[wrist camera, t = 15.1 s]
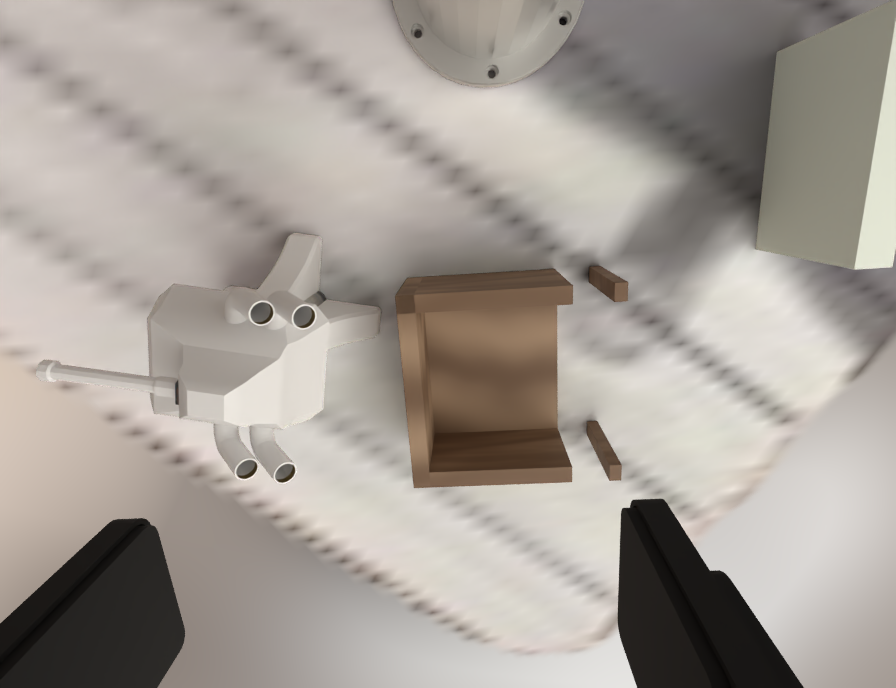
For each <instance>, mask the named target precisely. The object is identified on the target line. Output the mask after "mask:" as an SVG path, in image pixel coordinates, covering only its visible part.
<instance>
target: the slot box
mask: <svg viewBox="0 0 896 688" xmlns="http://www.w3.org/2000/svg"><path fill="white" fill-rule="evenodd" d="M589 283H590V284H592V285H593V286H594V287H596V288H597V289H598V290H600V291H601V292H602V293H604V294H605V295H606V296H607V297H609V298H610V299H611V300H613V301H614V302H622V301H628V282H627V281H625V280H623V279H622V278H620V277H618V276H617V275H615V274H613V273H611V272H610V271H608V270H606V269H604V268H603V267H601V266H592V267H589ZM395 301H396V311H397V321H398V331H399V341H400V351H401V361H402V372H403V382H404V392H405V402H406V412H407V422H408V432H409V443H410V453H411V463H412V473H413V483H414V488H427V487H453V486H480V485H507V484H533V483H560V482H572V465H571V463H570V460H569V458H568V455H567V452H566V450H565V447H564V444H563V442H562V439H561V436H560V434H559V431H558V426H557V305H569V304H573V285H572V284H571V283H570V282H568V281H567V280H566V279H565V278H564V277H563V276H562V275H561V274H560V273H559V272H557V271H556V270H555V269H543V270H526V271H510V272H493V273H477V274H460V275H444V276H427V277H411V278H407V279H406V281H405V282H404V284H403V285H402V287H401V288H400V289H399V291H398V292H397V294H396V295H395ZM587 436H588V438H589V440H590V442H591V444H592V446H593V448H594V450H595V452H596V454H597V456H598V458H599V460H600V462H601V464H602V466H603V468H604V470H605V473H606V475H607V477H608V479H609V481H613V480H621V468H622V465H621V463H620V461H619V459H618V458H617V456H616V454H615V452H614V451H613V449H612V447H611V445H610V443H609V442H608V440H607V438H606V436H605V434H604V433H603V431H602V429H601V427H600V425H599V424H598V422H597V421H587Z"/></svg>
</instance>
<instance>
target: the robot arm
mask: <svg viewBox="0 0 896 688" xmlns="http://www.w3.org/2000/svg"><path fill="white" fill-rule="evenodd" d="M392 1H393V6H394V9H395V12H396V15H397V18H398V21H399V24H400V26H401V28H402V31H403V33H404V35H405V37H406V39H407V40H408V42H409V43H410V45H411V46H412V48H413V49H414V51H415V52H416V54H417V55H418V56H419V57H420V58H421V59H422V60H423V61H424V62H425V63H426V64H427V65H428V66H429V67H430V68H431V69H433V70H434V71H436V72H437V73H439V74H440V75H442V76H443V77H445V78H447V79H449V80H452V81H454V82H457V83H459V84H461V85H467V86H472V87H478V88H487V87H500V86H504V85H508V84H512V83H515V82H517V81H519V80H521V79H524V78H526V77H528V76H530V75H532V74H533V73H534V72H536V71H537V70H538V69H540V68H541V67H543V66H544V65H545V64H546V63H547V62H548V61H549V60H550V59H551V58H552V57H553V56H554V55H555V54H556V53H557V52H558V51H559V50H560V48H561V47H562V45H563V44H564V42H565V41H566V40H567V38H568V37H569V35H570V33H571V31H572V30H573V28H574V26H575V24H576V22H577V20H578V18H579V15H580V12H581V9H582V6H583V3H584V0H392ZM561 18H564V19H565V20H566V25H561V24H560V23H559V20H560V19H561ZM416 31H421V32H422V36H421V37H420V38H416V37H415V33H416ZM489 71H494V72H495V74H496V75H495V77H494V78H490V77H489V76H488V72H489ZM618 628H619V633H620V638H621V641H622V644H623V647H624V650H625V653H626V656H627V659H628V662H629V665H630V668H631V670H632V673H633V676H634V679H635V682H636V685H637V688H803V686H802V684H801V683H800V682H799V680H798V679H797V677H796V676H795V674H794V673H793V671H792V670H791V668H790V667H789V665H788V664H787V662H786V661H785V659H784V658H783V656H782V655H781V653H780V652H779V650H778V649H777V647H776V646H775V645H774V643H773V642H772V640H771V639H770V637H769V636H768V634H767V633H766V631H765V630H764V628H763V627H762V625H761V624H760V622H759V621H758V619H757V618H756V616H755V615H754V613H753V612H752V611H751V609H750V608H749V606H748V605H747V603H746V602H745V600H744V599H743V597H742V596H741V594H740V593H739V591H738V590H737V588H736V587H735V585H734V584H733V583H732V581H731V580H730V578H729V577H728V576H727V575H726V574H725V573H724V572H722V571H710V570H709V569H708V567H707V566H706V564H705V563H704V561H703V559H702V558H701V556H700V555H699V553H698V552H697V550H696V548H695V547H694V545H693V544H692V542H691V541H690V539H689V537H688V536H687V534H686V533H685V531H684V530H683V528H682V526H681V525H680V523H679V522H678V520H677V519H676V517H675V515H674V514H673V512H672V511H671V509H670V508H669V506H668V504H667V503H666V502H665V500H663V499H642V500H633V501H632V502H631V506H630V508H623V509H622V511H621V533H620V563H619V593H618ZM184 637H185V629H184V625H183V621H182V617H181V614H180V610H179V607H178V603H177V599H176V596H175V592H174V588H173V585H172V581H171V577H170V574H169V570H168V566H167V563H166V559H165V555H164V552H163V548H162V545H161V541H160V537H159V534H158V531H157V529H156V527H155V526H152V525H150V522H148V520H146V519H143V518H139V519H117V520H113V521H111V522H110V523H109V524H107V525H106V526H105V527H104V528H103V529H102V530H101V531H100V532H99V533H98V534H97V535H96V536H94V537H93V538H92V539H91V540H90V541H89V542H88V543H87V544H86V545H85V546H84V547H83V548H82V549H80V550H79V551H78V552H77V553H76V554H75V555H74V556H73V557H72V558H71V559H70V560H68V561H67V562H66V563H65V564H64V565H63V566H62V567H61V568H60V569H59V570H58V571H57V572H56V573H54V574H53V575H52V576H51V577H50V578H49V579H48V580H47V581H46V582H45V583H44V584H43V585H42V586H41V587H39V588H38V589H37V590H36V591H35V592H34V593H33V594H32V595H31V596H30V597H29V598H28V599H26V600H25V601H24V602H23V603H22V604H21V605H20V606H19V607H18V608H17V609H16V610H14V611H13V612H12V613H11V614H10V615H9V616H8V617H7V618H6V619H5V620H4V621H3V622H2V623H0V688H157V687H158V685H159V684H160V682H161V681H162V679H163V677H164V676H165V674H166V673H167V671H168V669H169V668H170V666H171V665H172V663H173V661H174V660H175V658H176V657H177V655H178V653H179V652H180V650H181V648H182V646H183V643H184Z"/></svg>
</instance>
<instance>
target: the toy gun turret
mask: <svg viewBox="0 0 896 688" xmlns="http://www.w3.org/2000/svg"><path fill="white" fill-rule="evenodd" d="M321 255H322V239H321V237H320V236H315V235H308V234H301V233H292V234H291V235H290V236H288V238H287V240H286V243H285V245H284V248H283V250H282V252H281V254H280V256H279V258H278V260H277V262H276V264H275V265H274V267H273V268H272V270H271V271H270V273H269V275H268V276H267V277H266V279H265V280H264V281H263V283H262V284H261V285H260V287H259V288H258V289H251V288H247V287H237V286H229V287H226V288H225V289H224V290H223V291H221V290H214V289H207V288H201V287H194V286H187V285H180V284H173V285H172V286H171V287H169V288H168V289H167V290H166V291H165V292H164V293H162V294H161V295H160V296H159V297H158V299H157V301H156V303H155V305H154V307H153V309H152V311H151V312H150V314H149V316H148V318H147V324H148V350H149V376H150V377H149V376H142V375H134V374H127V373H119V372H112V371H105V370H97V369H90V368H83V367H75V366H68V365H61V363H60V362H59V361H53V360H43V361H42V362H41V363H39V364H38V367H37V369H36V375H37V378H38V379H39V380H40V381H46V382H56V381H57V380H61V381H69V382H76V383H84V384H91V385H98V386H106V387H113V388H121V389H128V390H135V391H143V392H150V398H151V403H152V407H153V411H154V414H160V415H168V416H176V417H179V418H180V419H187V420H194V421H201V422H207V423H214V436H215V442H216V446H217V449H218V451H219V453H220V455H221V456H222V458H223V459H224V461H225V462H226V463H227V465H228V466H229V468H230V469H231V471H232V472H233V473H234V475H235V476H236V478H237V479H239V480H248V479H250V478H252V477H253V476H254V475H255V474H256V473H257V471H258V469H259V463H258V462H257V460H256V459H255V458H254V456H253V455H252V454H251V453H250V451H249V450H248V449H247V448H246V446H245V445H244V444H243V443H242V441H241V439H240V436H239V430H238V427H242V428H244V427H247V426H250V441H251V446H252V449H253V452H254V454H255V456H256V458H257V459H258V461H259V462H260V463H261V464H262V466H263V467H264V468H265V469H266V471H267V472H268V473H269V474H270V476H271V477H272V478H273V479H274V481H275V482H276V483H278V484H285V483H288V482H289V481H291V480H292V479H293V478H294V477H295V475H296V472H297V467H296V465H295V464H294V463H293V462H292V460H291V459H290V458H289V457H288V456H287V455H286V454H285V453H284V452H283V450H282V449H281V448H280V447H279V446H278V445H277V444H276V441H275V438H274V430H273V429H279V430H284V429H285V428H286V427H287V426H291V425H294V424H298V423H301V422H304V421H308V420H309V419H311V418H312V417H313V416H315V415H316V414H318V413H319V412H320V411H322V410H323V403H324V390H325V376H326V362H327V351H328V350H330V349H333V348H335V347H338V346H341V345H344V344H348V343H352V342H356V341H361V340H367V339H373V338H375V337H376V336H377V335H378V334H379V329H380V319H381V309H380V308H379V307H375V306H368V305H361V304H354V303H347V302H340V301H334V300H327V299H326V298H325V296H324V294H322V293H321V292H320V291H319V286H320V271H321Z"/></svg>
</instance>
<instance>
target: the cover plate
mask: <svg viewBox="0 0 896 688" xmlns="http://www.w3.org/2000/svg"><path fill="white" fill-rule="evenodd" d="M756 249H757V250H762V251H766V252H771V253H776V254H781V255H786V256H791V257H796V258H801V259H806V260H811V261H815V262H820V263H825V264H830V265H835V266H840V267H845V268H850V269H870V268H888V267H892V265H893V260H894V255H895V249H896V0H892V1H890V2H888V3H885V4H883V5H881V6H879V7H876V8H874V9H872V10H870V11H867V12H865V13H863V14H861V15H858V16H856V17H854V18H852V19H849V20H847V21H845V22H843V23H841V24H838V25H836V26H834V27H832V28H829V29H827V30H825V31H823V32H820V33H818V34H816V35H814V36H811V37H809V38H807V39H805V40H802V41H800V42H798V43H796V44H793V45H791V46H789V47H787V48H784V49H782V50H780V51H778V52H777V56H776V66H775V75H774V84H773V93H772V102H771V112H770V121H769V130H768V139H767V148H766V158H765V167H764V176H763V185H762V194H761V204H760V213H759V222H758V231H757V240H756Z"/></svg>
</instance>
